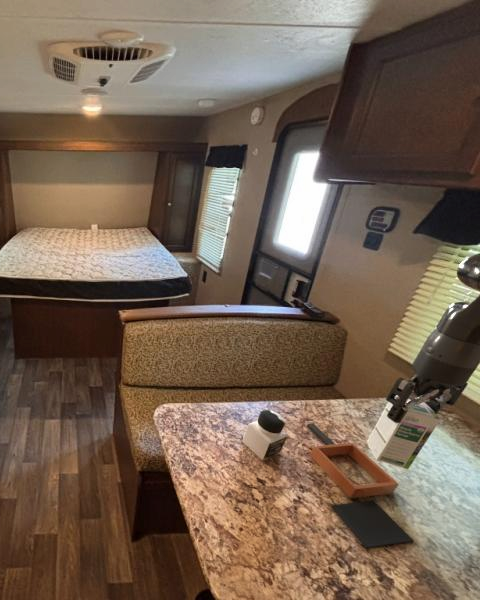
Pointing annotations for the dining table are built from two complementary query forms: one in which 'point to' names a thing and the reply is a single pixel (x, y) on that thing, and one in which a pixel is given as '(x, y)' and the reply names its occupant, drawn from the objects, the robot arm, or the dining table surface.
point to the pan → (330, 448)
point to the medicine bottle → (266, 435)
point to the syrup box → (402, 435)
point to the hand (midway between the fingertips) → (408, 419)
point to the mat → (371, 524)
